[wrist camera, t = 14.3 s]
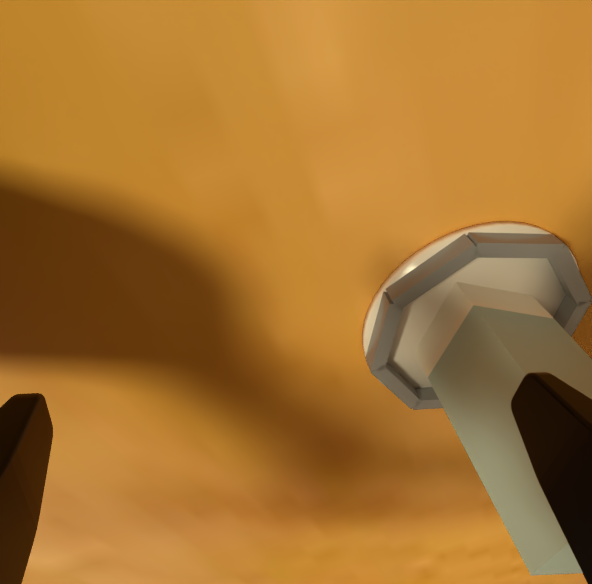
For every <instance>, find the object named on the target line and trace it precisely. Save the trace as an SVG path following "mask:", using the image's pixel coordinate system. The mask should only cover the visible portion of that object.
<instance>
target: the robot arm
mask: <svg viewBox="0 0 592 584" xmlns="http://www.w3.org/2000/svg"><path fill="white" fill-rule="evenodd" d="M511 410H512V413H513V416H514V419H515V421H516V424H517V427H518V429H519V432H520V435H521V437H522V440H523V443H524V445H525V448H526V451H527V453H528V456H529V459H530V461H531V464H532V467H533V469H534V472H535V474H536V477H537V479H538V482H539V484H540V486H541V488H542V490H543V493H544V495H545V497H546V499H547V501H548V503H549V505H550V507H551V509H552V511H553V513H554V515H555V517H556V519H557V521H558V523H559V525H560V527H561V530H562V532H563V534H564V536H565V538H566V540H567V542H568V544H569V546H570V548H571V550H572V552H573V554H574V556H575V558H576V560H577V562H578V564H579V566H580V568H581V571H582V573H583V575H584V577H585V579H586V581H587V583H588V584H592V399H591V398H589V397H587V396H586V395H584V394H583V393H581V392H579V391H578V390H576V389H575V388H573V387H572V386H570V385H568V384H567V383H565V382H564V381H562V380H560V379H559V378H557V377H556V376H554V375H552V374H551V373H548V372H531V373H528V374H526V375H525V376H524V378H523V379H522V381H521V383H520V385H519V387H518V388H517V390H516V392H515V394H514V396H513V397H512V400H511ZM52 438H53V426H52V422H51V418H50V415H49V411H48V408H47V404H46V400H45V398H44V396H43V395H42V394H39V393H31V394H17V395H14V396H13V397H11V398H10V399H9V400H8V401H7V402H6V403H5V404H4V405H3V406H2V407H1V408H0V584H21V583H22V580H23V577H24V573H25V570H26V566H27V563H28V559H29V556H30V552H31V549H32V546H33V542H34V538H35V534H36V530H37V526H38V521H39V515H40V510H41V504H42V498H43V492H44V486H45V480H46V474H47V468H48V462H49V456H50V450H51V444H52Z"/></svg>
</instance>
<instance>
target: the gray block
mask: <svg viewBox="0 0 592 584" xmlns="http://www.w3.org/2000/svg"><path fill="white" fill-rule="evenodd" d="M414 353H415V355H416V357H417V359H418V361H419V362H420V364H421V366H422V368H423V370H424V372H425V374H426V376H427V378H428V380H429V382H430V383H431V385H432V387H433V389H434V391H435V393H436V395H437V397H438V399H439V401H440V403H441V404H442V406H443V408H444V410H445V412H446V414H447V416H448V418H449V420H450V422H451V424H452V425H453V427H454V429H455V431H456V433H457V435H458V437H459V439H460V441H461V443H462V444H463V446H464V448H465V450H466V452H467V454H468V456H469V458H470V460H471V462H472V464H473V465H474V467H475V469H476V471H477V473H478V475H479V477H480V479H481V481H482V483H483V485H484V486H485V488H486V490H487V492H488V494H489V496H490V498H491V500H492V502H493V504H494V506H495V507H496V509H497V511H498V513H499V515H500V517H501V519H502V521H503V523H504V525H505V527H506V528H507V530H508V532H509V534H510V536H511V538H512V540H513V542H514V544H515V546H516V548H517V549H518V551H519V553H520V555H521V557H522V559H523V561H524V563H525V565H526V567H527V569H528V570H529V572H530V574H531V575H552V574H574V573H582V571H581V568H580V566H579V564H578V562H577V560H576V558H575V556H574V554H573V552H572V550H571V548H570V546H569V544H568V542H567V540H566V538H565V536H564V534H563V532H562V530H561V527H560V525H559V523H558V521H557V519H556V517H555V515H554V513H553V511H552V509H551V507H550V505H549V503H548V501H547V499H546V497H545V495H544V493H543V490H542V488H541V486H540V484H539V482H538V479H537V477H536V474H535V472H534V469H533V467H532V464H531V461H530V459H529V456H528V453H527V451H526V448H525V445H524V443H523V440H522V437H521V435H520V432H519V429H518V427H517V424H516V421H515V419H514V416H513V413H512V410H511V400H512V397H513V396H514V394H515V392H516V390H517V388H518V387H519V385H520V383H521V381H522V379H523V378H524V376H525V375H526V374H528V373H531V372H548V373H551V374H552V375H554V376H556V377H557V378H559V379H560V380H562V381H564V382H565V383H567V384H568V385H570V386H572V387H573V388H575V389H576V390H578V391H579V392H581V393H583V394H584V395H586V396H587V397H589V398H591V399H592V359H591V357H590V356H589V355H588V354H587V353H586V352H585V351H584V350H583V349H582V348H581V347H580V346H579V345H578V344H577V343H576V342H575V340H574V339H573V338H572V337H571V336H570V335H569V334H568V333H567V332H566V331H565V330H564V329H563V328H562V327H561V326H560V324H559V323H558V322H557V321H556V320H555V319H554V318H553V317H552V316H551V315H550V314H549V313H548V312H547V311H546V310H545V309H544V307H543V306H542V305H541V304H540V303H539V302H538V301H537V300H536V299H535V298H534V297H533V296H532V295H527V294H521V293H516V292H510V291H505V290H499V289H494V288H488V287H483V286H477V285H472V284H467V283H461V282H455V283H454V285H453V287H452V288H451V290H450V292H449V294H448V295H447V297H446V299H445V300H444V302H443V304H442V306H441V307H440V309H439V311H438V312H437V314H436V316H435V317H434V319H433V321H432V323H431V324H430V326H429V328H428V329H427V331H426V333H425V334H424V336H423V338H422V340H421V341H420V343H419V345H418V346H417V348H416V350H415V352H414Z"/></svg>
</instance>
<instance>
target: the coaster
mask: <svg viewBox="0 0 592 584" xmlns="http://www.w3.org/2000/svg"><path fill="white" fill-rule="evenodd" d="M455 282H461V283H467V284H472V285H477V286H483V287H488V288H494V289H499V290H505V291H510V292H516V293H521V294H527V295H532V296H533V297H534V298H535V299H536V300H537V301H538V302H539V303H540V304H541V305H542V306H543V307H544V309H545V310H546V311H547V312H548V313H549V314H550V315H551V316H552V317H553V318H554V319H555V320H556V321H557V322H558V323H559V324H560V326H561V327H562V328H563V329H564V330H565V331H566V332H567V333H568V334H569V335H570V336H572V335H573V333H574V331H575V330H576V328H577V326H578V325H579V323H580V321H581V320H582V318H583V316H584V315H585V313H586V311H587V309H588V308H589V306H590V304H591V303H592V301H591V300H592V297H591V295H590V293H589V291H588V288H587V286H586V284H585V282H584V280H583V278H582V276H581V274H580V272H579V267H578V265H577V262H576V259H575V257H574V256H573V254H572V252H571V251H570V249H569V248H568V247H567V245H566V244H564V243H563V242H562V241H561V240H560V239H558V238H557V237H556V236H554V235H553V234H551V233H550V232H548V231H547V230H545V229H542V228H540V227H538V226H535V225H531V224H527V223H523V222H514V221H496V222H488V223H482V224H476V225H473V226H469V227H466V228H462V229H459V230H457V231H454V232H452V233H449V234H446V235H444V236H442V237H440V238H439V239H437V240H435V241H433V242H431V243H429V244H428V245H426V246H424V247H423V248H421V249H420V250H418V251H417V252H415V253H414V254H413V255H411V256H410V257H409V258H408V259H406V260H405V261H404V262H403V263H402V264H401V265H400V266H399V267H398V268H397V269H395V270H394V271H393V272H392V273H391V275H390V276H389V277H388V278H387V279H386V281H385V282H384V283H383V284H382V286H381V287H380V289H379V290H378V292H377V293H376V295H375V296H374V298H373V300H372V302H371V304H370V306H369V308H368V311H367V314H366V317H365V320H364V324H363V330H362V345H363V351H364V354H365V358H366V361H367V364H368V366H369V369H370V371H371V373H372V374H373V375H374V376H375V377H376V378H377V379H378V380H379V381H380V382H381V383H382V384H384V385H385V386H386V387H387V388H388V389H390V390H391V391H392V392H393V393H394V394H395V395H396V396H397V397H398V398H399V399H401V400H402V401H403V402H404V403H405V404H406V405H407V406H408V407H409V408H411V409H412V408H413V409H414V410H418V409H435V408H443V406H442V404H441V403H440V401H439V399H438V397H437V395H436V393H435V391H434V389H433V387H432V385H431V383H430V382H429V380H428V378H427V376H426V374H425V372H424V370H423V368H422V366H421V364H420V362H419V361H418V359H417V357H416V355H415V353H414V352H415V350H416V348H417V346H418V345H419V343H420V341H421V340H422V338H423V336H424V334H425V333H426V331H427V329H428V328H429V326H430V324H431V323H432V321H433V319H434V317H435V316H436V314H437V312H438V311H439V309H440V307H441V306H442V304H443V302H444V300H445V299H446V297H447V295H448V294H449V292H450V290H451V288H452V287H453V285H454V283H455Z"/></svg>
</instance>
